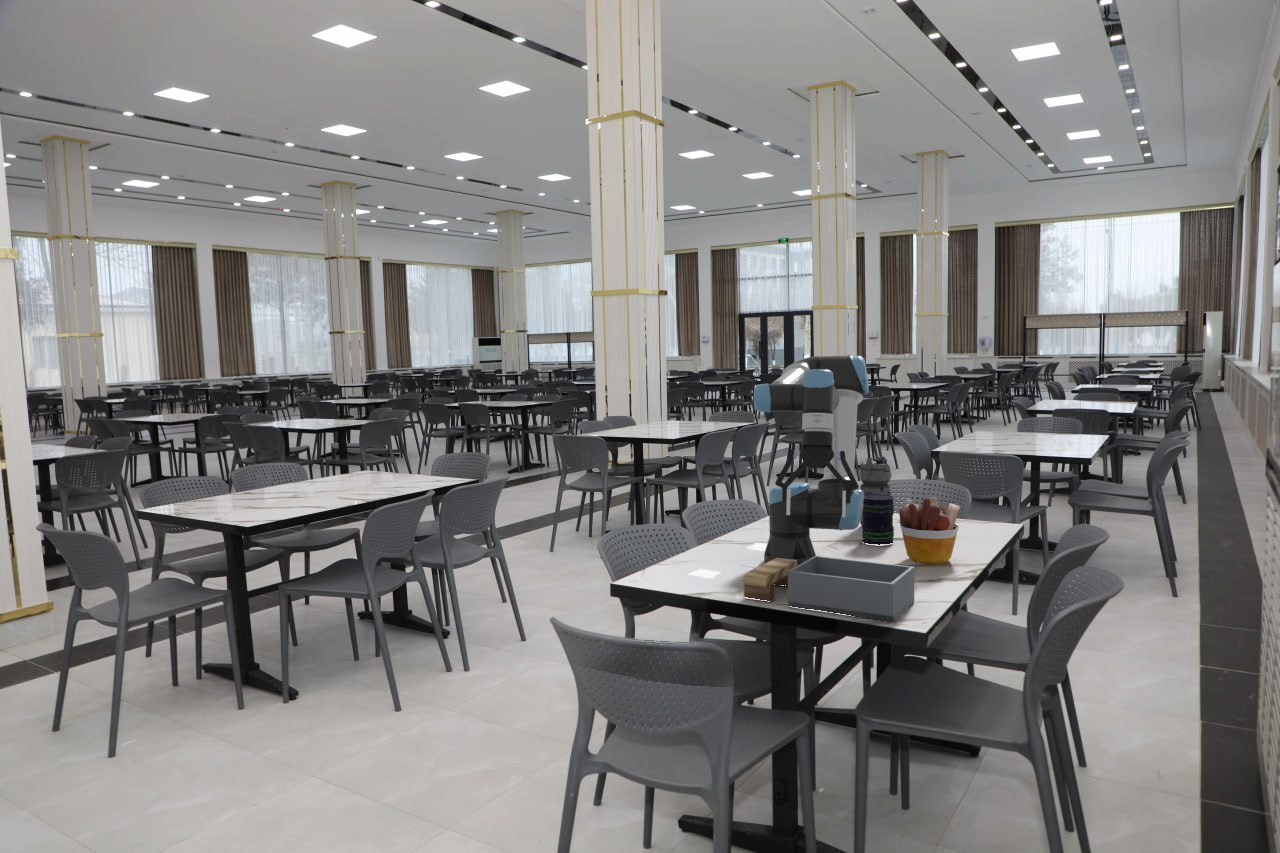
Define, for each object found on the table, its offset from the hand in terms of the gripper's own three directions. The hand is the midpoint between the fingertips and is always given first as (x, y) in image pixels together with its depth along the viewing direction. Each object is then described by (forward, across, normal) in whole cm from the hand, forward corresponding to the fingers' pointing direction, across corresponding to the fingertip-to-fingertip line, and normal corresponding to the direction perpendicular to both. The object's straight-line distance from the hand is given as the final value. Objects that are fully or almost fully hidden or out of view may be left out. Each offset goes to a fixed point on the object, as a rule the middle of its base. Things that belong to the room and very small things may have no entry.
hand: (815, 516), depth 215 cm
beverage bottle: (+5, +18, +93) cm, 95 cm away
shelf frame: (+21, +9, -1) cm, 23 cm away
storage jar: (+9, +18, +68) cm, 71 cm away
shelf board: (+16, -11, +8) cm, 21 cm away
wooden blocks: (+20, -11, +8) cm, 24 cm away
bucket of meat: (+13, +31, +47) cm, 58 cm away
